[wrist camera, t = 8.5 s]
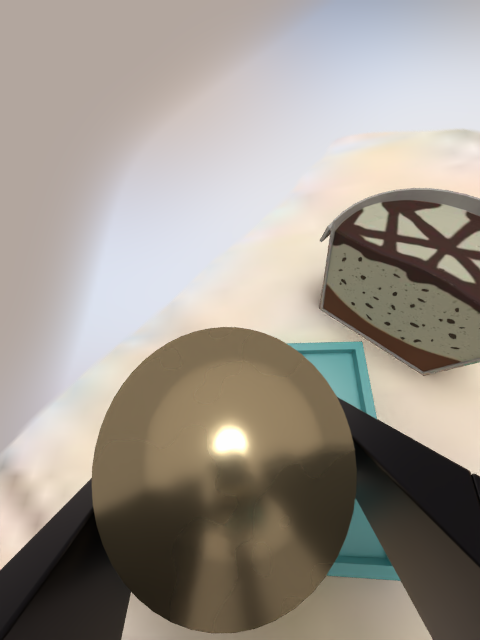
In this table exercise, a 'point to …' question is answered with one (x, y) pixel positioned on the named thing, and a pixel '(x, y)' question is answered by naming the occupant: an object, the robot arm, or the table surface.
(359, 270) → the food container
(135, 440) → the grey tin
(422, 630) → the table surface
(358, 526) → the teal tray
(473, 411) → the table surface
